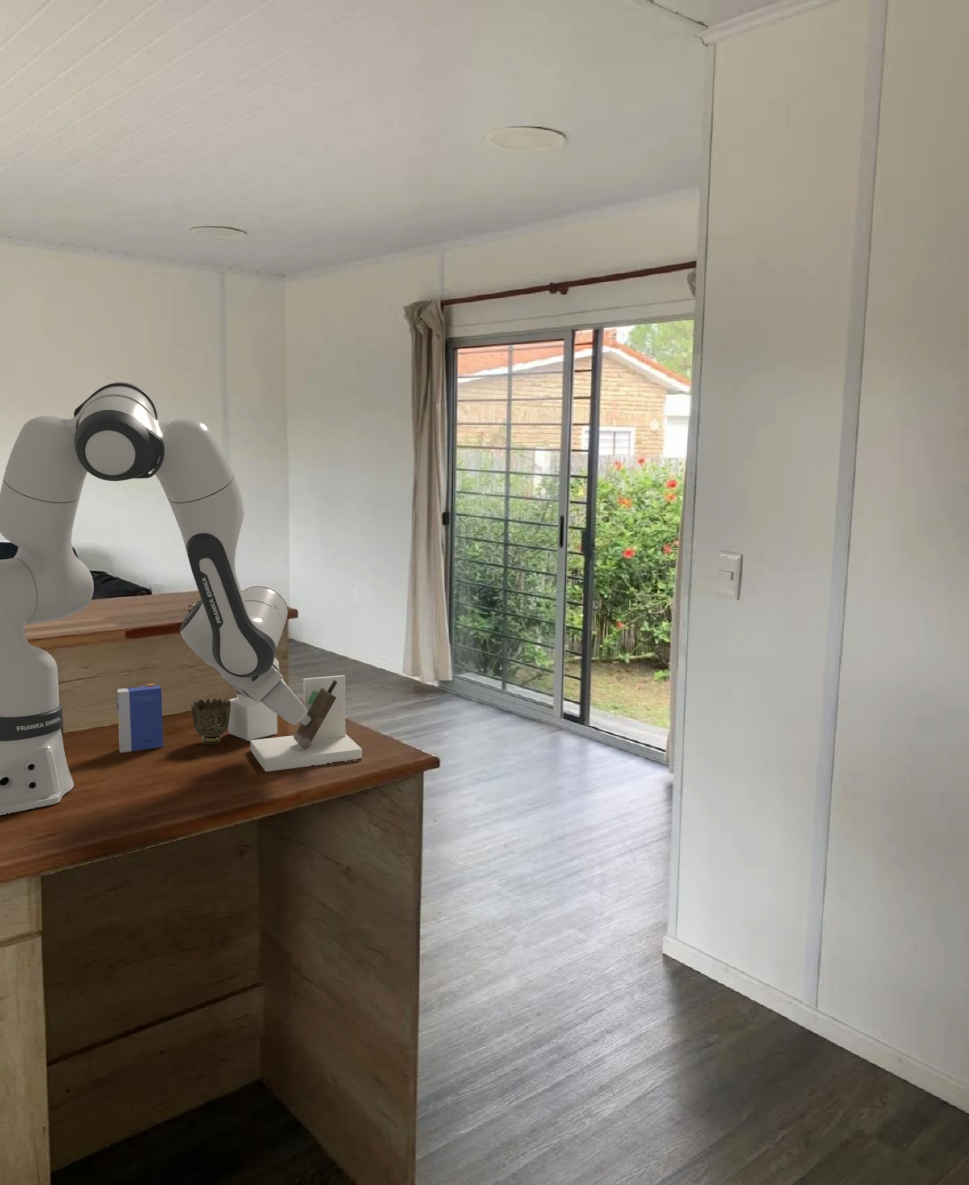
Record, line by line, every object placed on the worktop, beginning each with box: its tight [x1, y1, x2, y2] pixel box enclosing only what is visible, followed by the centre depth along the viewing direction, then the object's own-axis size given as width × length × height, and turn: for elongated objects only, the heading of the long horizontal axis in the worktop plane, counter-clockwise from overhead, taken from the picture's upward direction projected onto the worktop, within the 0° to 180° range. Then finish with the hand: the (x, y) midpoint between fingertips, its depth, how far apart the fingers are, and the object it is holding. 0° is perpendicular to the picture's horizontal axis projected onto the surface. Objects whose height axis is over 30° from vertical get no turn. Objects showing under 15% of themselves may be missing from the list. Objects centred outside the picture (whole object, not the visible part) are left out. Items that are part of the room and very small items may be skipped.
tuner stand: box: [249, 674, 363, 772], centre depth 181 cm, size 18×13×14 cm
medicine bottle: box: [227, 690, 278, 742], centre depth 194 cm, size 7×7×12 cm
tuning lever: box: [293, 680, 337, 749], centre depth 180 cm, size 2×5×14 cm, turn 26°
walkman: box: [115, 683, 164, 753], centre depth 184 cm, size 8×3×12 cm, turn 119°
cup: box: [190, 698, 231, 745], centre depth 188 cm, size 8×7×8 cm
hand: (307, 721), depth 180 cm, fingers closed, pressing on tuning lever
